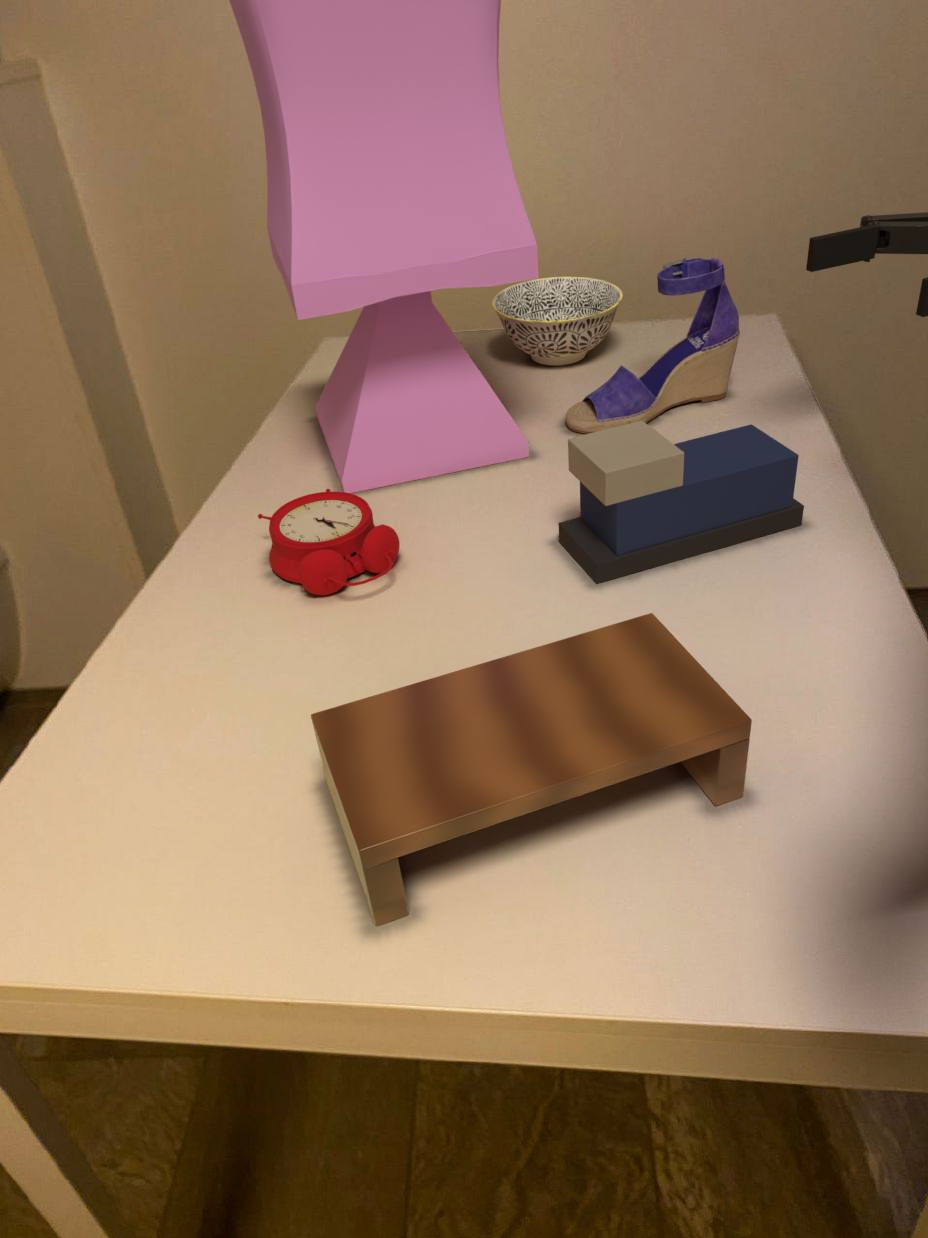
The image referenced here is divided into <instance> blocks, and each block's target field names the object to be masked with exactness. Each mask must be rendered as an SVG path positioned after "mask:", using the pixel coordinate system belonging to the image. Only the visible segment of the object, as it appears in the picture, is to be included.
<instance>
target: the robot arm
mask: <svg viewBox="0 0 928 1238" xmlns="http://www.w3.org/2000/svg"><path fill="white" fill-rule="evenodd" d="M876 255H928V211H927V212H925V211H924V212H910V213H908V212H907V213H894V214H876V215H869V214H867V215H863V216H862V217H861V218H860V223H859V227H855V228H850V229H846V230H841V231H836V232H831V233H826V234H822V235H817V236H812V237H809V242H808V250H807V259H806V268H805V270H806V271H807V272H810V273H814V272H818V271H822V270H827V269H832V268H836V267H841V266H845V265H846V266H847V265H850V264H854V263H855V264H856V263H859V262H864V263H871V260H873V259H875V257H876ZM915 315H916V316H919V317H921V318H926V317H928V277H924V278H923V277H922V280H921V285H920V291H919V296H918V301H917V306H916V311H915Z"/></svg>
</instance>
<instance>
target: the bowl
mask: <svg viewBox="0 0 928 1238" xmlns="http://www.w3.org/2000/svg"><path fill="white" fill-rule="evenodd" d="M623 295H624V293H623V291H622V289H621V288H620V287H618V286H617V285H615V284H614V283H611V282H609V281H607V280H603V279H599V278H594V277H586V276H551V277H543V278H537V279H532V280H526V281H521V282H518V283H515V284H513V285H510V286H508V287H506V288H504V289H502V290H501V291H499V292H498V293H497V294H496V295H494V297H493V299H492V301H491V305H492V308H493V310H494V311H495V313H496V315H497V316H498V318H499V321H500V322H501V325H502V327H503V329H504V331H505V334H506V336H507V337H508V339H509V340H510V342H512V343H513V345H514V346H515V347H517V348H518V349H519V350H521V352H524V353H525V354H528V355H530V357H531V360H532V361H534V362H535V363H537V364H541V365H543V366H555V367H556V366H557V367H558V366H567V365H572V364H575V363H578V362H580V361H582V360H583V359H584V358H585V357H586V356H587V353H588V352H589V351H591V350H592V349H594V348H595V347H596V346H597V345H599V344H600V343H601V342H602V341H603V339H604V338H605V337H606V336H607V334H608V333H609V331H610V329H611V327H612V324H613V322H614V319H615V316H616V313H617V310H618V309H619V307H620V304H621V302H622V300H623V297H624V296H623Z"/></svg>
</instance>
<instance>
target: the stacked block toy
mask: <svg viewBox="0 0 928 1238" xmlns="http://www.w3.org/2000/svg"><path fill="white" fill-rule="evenodd" d="M567 454H568V455H567V456H568V458H567V459H568V471H569V472H570V474H572V475H573V476H574V477H575V478H576V479H577V480H578V481H579V509H580V510H579V511H580V512H579V513H580V516H578V517H574V518H570V519H567V520H563V521H560V522H559V521H558V542H559V543H560V545H561V546H562V547H563V548H564V549H565V550H566V551H567V552H568V553H569V554H570V556H571V557H572V558H573V559H574V560H575V561H576V562H577V564H578V565H579V566H580V567H581V568H582V569H583V570H584V572H586V574H587V575H588V576H589V577H590V578H591V579H592V580H593V582H594V583H595V584H597V585H598V584H601V583H604V582H608V581H611V580H615V579H618V578H622V577H626V576H629V575H632V574H636V573H639V572H642V571H647V570H650V569H654V568H656V567H660V566H664V565H667V564H670V563H675V562H677V561H681V560H685V559H688V558H691V557H695V556H698V555H703V554H706V553H709V552H713V551H717V550H719V549H723V548H727V547H730V546H733V545H737V544H740V543H744V542H747V541H751V540H756V539H757V538H761V537H765V536H769V535H772V534H775V533H779V532H782V531H785V530H789V529H792V528H796V527H800V526H802V524H803V516H804V509H805V505H804V504H802V503H801V502H800V501H798V500H797V499H796V498H794V496H795V485H796V479H797V473H798V472H797V471H798V464H799V457H800V455H799V454H798V453H797V452H795V451H793V450H791V449H790V448H789V447H787V446H786V445H784V444H783V443H781V442H779V441H778V440H776V439H775V438H773V437H772V436H770V434H767V433H766V432H764V431H763V430H761V429H760V428H758V427H756V426H755V425H754V424H747V425H743V426H739V427H736V428H731V429H727V430H724V431H720V432H716V433H712V434H708V435H703V436H700V437H696V438H692V439H688V440H684V441H680V442H676V443H673V442H671V441H670V440H668V439H667V438H666V437H665V436H663V435H662V434H661V433H660V432H658V431H657V430H656V429H654V428H653V427H652V426H650V425H649V424H647V423H645V422H644V421H638V422H634V423H630V424H626V425H622V426H618V427H614V428H610V429H606V430H602V431H598V432H594V433H590V434H586V433H585V434H582V435H578V436H577V435H576V436H575V437H569V438H568V439H567Z"/></svg>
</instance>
